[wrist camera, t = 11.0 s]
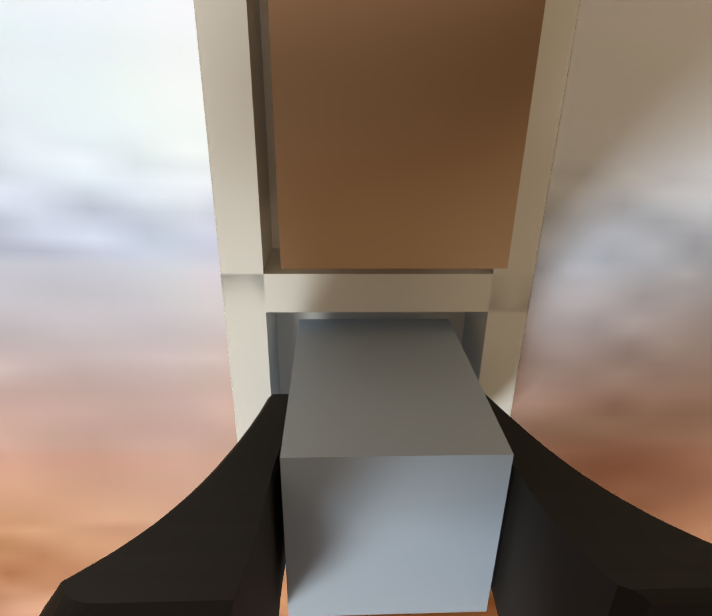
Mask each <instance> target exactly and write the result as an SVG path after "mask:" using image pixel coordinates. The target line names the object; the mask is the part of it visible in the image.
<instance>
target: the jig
mask: <svg viewBox="0 0 712 616" xmlns="http://www.w3.org/2000/svg"><path fill="white" fill-rule="evenodd" d="M579 4H580V0H546V3H545V10H544V17H543V24H542V31H541V38H540V45H539V52H538V59H537V66H536V73H535V80H534V87H533V94H532V101H531V108H530V114H529V121H528V128H527V135H526V142H525V149H524V156H523V163H522V170H521V177H520V184H519V191H518V198H517V205H516V212H515V219H514V226H513V233H512V240H511V247H510V254H509V261H508V268H507V269H281V262H280V242H279V221H278V201H277V181H276V160H275V140H274V119H273V99H272V79H271V58H270V38H269V17H268V0H194V9H195V19H196V29H197V39H198V49H199V60H200V70H201V80H202V90H203V100H204V110H205V120H206V130H207V140H208V151H209V161H210V171H211V181H212V191H213V201H214V211H215V221H216V231H217V242H218V252H219V262H220V272H221V282H222V292H223V302H224V312H225V322H226V332H227V343H228V353H229V363H230V373H231V383H232V393H233V403H234V413H235V423H236V434H237V443H238V441H239V440H240V439H241V437H242V436H243V435H244V434H245V432H246V431H247V430H248V428H249V427H250V426H251V424H252V423H253V421H254V420H255V418H256V417H257V415H258V414H259V412H260V411H261V409H262V408H263V406H264V404H265V403H266V401H267V399H268V398H269V397H270V396H271V395H272V394H289V390H290V383H291V376H292V369H293V362H294V355H295V348H296V341H297V334H298V327H299V320H300V319H449V321H450V323H451V325H452V327H453V329H454V331H455V333H456V335H457V337H458V340H459V342H460V344H461V346H462V348H463V350H464V352H465V354H466V356H467V358H468V360H469V362H470V365H471V367H472V369H473V371H474V373H475V375H476V377H477V379H478V381H479V383H480V385H481V387H482V389H483V392H484V394H486V395H487V396H488V397H489V398H490V399H491V400H492V401H494V402H495V403H496V404H497V405H498V406H499V407H500V408H501V409H502V410H503V411H504V412H506V413H507V414H508V415H509V416H510V414H511V409H512V403H513V397H514V391H515V385H516V379H517V373H518V367H519V361H520V355H521V349H522V343H523V337H524V331H525V325H526V319H527V313H528V307H529V301H530V295H531V289H532V283H533V278H534V272H535V266H536V260H537V254H538V248H539V242H540V236H541V230H542V224H543V218H544V212H545V206H546V200H547V194H548V188H549V182H550V176H551V170H552V164H553V158H554V152H555V146H556V141H557V135H558V129H559V123H560V117H561V111H562V105H563V99H564V93H565V87H566V81H567V75H568V69H569V63H570V57H571V51H572V45H573V39H574V33H575V27H576V21H577V15H578V10H579Z"/></svg>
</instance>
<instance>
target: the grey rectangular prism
mask: <svg viewBox="0 0 712 616" xmlns="http://www.w3.org/2000/svg"><path fill="white" fill-rule="evenodd" d="M513 456H514V454H513V452H512V450H511V448H510V446H509V444H508V441H507V439H506V437H505V435H504V433H503V431H502V429H501V427H500V425H499V423H498V421H497V419H496V417H495V414H494V412H493V410H492V408H491V406H490V404H489V402H488V400H487V398H486V396H485V394H484V392H483V389H482V387H481V385H480V383H479V381H478V379H477V377H476V375H475V373H474V371H473V369H472V367H471V365H470V362H469V360H468V358H467V356H466V354H465V352H464V350H463V348H462V346H461V344H460V342H459V340H458V337H457V335H456V333H455V331H454V329H453V327H452V325H451V323H450V321H449V319H300V320H299V327H298V334H297V341H296V348H295V355H294V362H293V369H292V376H291V383H290V390H289V397H288V404H287V411H286V418H285V425H284V432H283V440H282V447H281V454H280V469H281V486H282V504H283V522H284V540H285V557H286V575H287V593H288V610H289V616H342V615H378V614H414V613H450V612H486V611H487V605H488V599H489V593H490V588H491V582H492V576H493V571H494V565H495V559H496V553H497V548H498V542H499V536H500V530H501V525H502V519H503V513H504V508H505V502H506V496H507V490H508V485H509V479H510V473H511V467H512V462H513Z"/></svg>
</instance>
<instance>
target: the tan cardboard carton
mask: <svg viewBox="0 0 712 616" xmlns="http://www.w3.org/2000/svg"><path fill="white" fill-rule="evenodd" d="M545 3H546V0H268V17H269V38H270V58H271V79H272V99H273V119H274V140H275V160H276V181H277V201H278V221H279V242H280V262H281V269H507V268H508V261H509V254H510V247H511V240H512V233H513V226H514V219H515V212H516V205H517V198H518V191H519V184H520V177H521V170H522V163H523V156H524V149H525V142H526V135H527V128H528V121H529V114H530V108H531V101H532V94H533V87H534V80H535V73H536V66H537V59H538V52H539V45H540V38H541V31H542V24H543V17H544V10H545Z"/></svg>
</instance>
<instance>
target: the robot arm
mask: <svg viewBox="0 0 712 616" xmlns="http://www.w3.org/2000/svg"><path fill="white" fill-rule="evenodd" d="M485 396H486V398H487V400H488V402H489V404H490V406H491V408H492V410H493V412H494V414H495V417H496V419H497V421H498V423H499V425H500V427H501V429H502V431H503V433H504V435H505V437H506V439H507V441H508V444H509V446H510V448H511V450H512V452H513V454H514V456H513V462H512V467H511V473H510V479H509V485H508V490H507V496H506V502H505V508H504V513H503V519H502V525H501V530H500V536H499V542H498V548H497V553H496V559H495V565H494V571H493V576H492V582H491V589H492V592H493V596H494V600H495V604H496V608H497V612H498V616H712V544H711V543H709V542H706V541H704V540H702V539H700V538H697V537H695V536H693V535H691V534H689V533H687V532H684V531H682V530H680V529H678V528H676V527H674V526H671V525H669V524H667V523H665V522H663V521H661V520H659V519H657V518H655V517H653V516H651V515H649V514H648V513H646V512H644V511H642V510H640V509H638V508H637V507H635V506H633V505H631V504H629V503H628V502H626V501H624V500H622V499H620V498H619V497H617V496H615V495H614V494H612V493H610V492H609V491H607V490H605V489H604V488H602V487H601V486H599V485H598V484H596V483H595V482H593V481H591V480H590V479H588V478H587V477H585V476H584V475H582V474H581V473H579V472H578V471H576V470H575V469H574V468H572V467H571V466H569V465H568V464H567V463H565V462H564V461H563V460H562V459H560V458H559V457H558V456H556V455H555V454H554V453H552V452H551V451H550V450H548V449H547V448H546V447H545V446H543V445H542V444H541V443H540V442H539V441H537V440H536V439H535V438H534V437H533V436H531V435H530V434H529V433H528V432H527V431H526V430H524V429H523V428H522V427H521V426H520V425H519V424H518V423H517V422H515V421H514V420H513V419H512V418H511V417H510V416H509V415H508V414H507V413H506V412H504V411H503V410H502V409H501V408H500V407H499V406H498V405H497V404H496V403H495V402H494V401H492V400H491V399H490V398H489V397H488V396H487V395H486V394H485ZM288 397H289V394H272V395H271V396H270V397H269V398H268V399H267V401H266V403H265V404H264V406H263V408H262V409H261V411H260V412H259V414H258V415H257V417H256V418H255V420H254V421H253V423H252V424H251V426H250V427H249V428H248V430H247V431H246V432H245V434H244V435H243V436H242V437H241V439H240V440H239V441H238V443H237V444H236V445H235V447H234V448H233V449H232V450H231V451H230V452H229V454H228V455H227V456H226V457H225V458H224V459H223V461H222V462H221V463H220V464H219V465H218V466H217V468H216V469H215V470H214V471H213V472H212V473H211V474H210V475H209V476H208V477H207V478H206V479H205V480H204V481H203V482H202V483H201V484H200V485H199V486H198V487H197V488H196V489H195V490H194V491H193V492H192V493H191V494H190V495H189V496H187V497H186V498H185V499H184V500H183V501H182V502H181V503H179V504H178V505H177V506H176V507H175V508H174V509H172V510H171V511H170V512H169V513H167V514H166V515H165V516H164V517H163V518H161V519H160V520H159V521H158V522H156V523H155V524H154V525H152V526H151V527H149V528H148V529H147V530H145V531H144V532H142V533H141V534H140V535H138V536H137V537H135V538H134V539H132V540H131V541H129V542H128V543H126V544H125V545H123V546H122V547H120V548H119V549H117V550H116V551H114V552H112V553H111V554H109V555H108V556H106V557H104V558H102V559H101V560H99V561H97V562H96V563H94V564H92V565H90V566H89V567H87V568H85V569H84V570H82V571H80V572H78V573H77V574H75V575H73V576H71V577H70V578H68V579H66V580H64V581H62V582H61V583H60V585H59V587H58V588H57V590H56V591H55V593H54V594H53V596H52V597H51V598H50V600H49V601H48V603H47V604H46V605H45V607H44V609H43V610H42V612H41V614H40V615H39V616H279V608H280V597H281V589H282V582H283V575H284V570H285V564H286V557H285V540H284V522H283V504H282V486H281V469H280V454H281V447H282V440H283V432H284V425H285V418H286V411H287V404H288Z"/></svg>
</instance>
